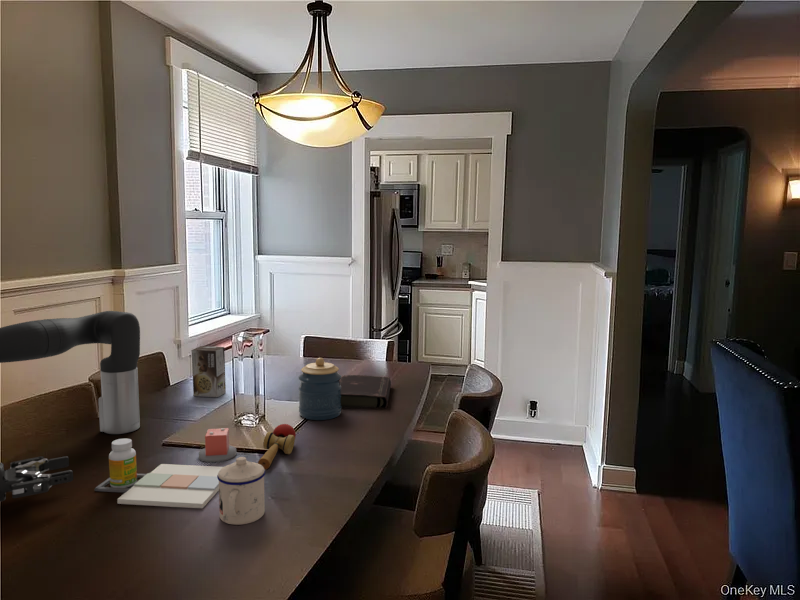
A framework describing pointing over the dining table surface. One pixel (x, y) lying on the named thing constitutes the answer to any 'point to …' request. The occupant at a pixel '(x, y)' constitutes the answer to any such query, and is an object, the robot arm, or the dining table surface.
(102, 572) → the dining table surface
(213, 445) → the red die
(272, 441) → the kendama
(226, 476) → the teacup with lid
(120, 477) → the supplement bottle
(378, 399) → the diary
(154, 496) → the game board
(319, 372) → the canister
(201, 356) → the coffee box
